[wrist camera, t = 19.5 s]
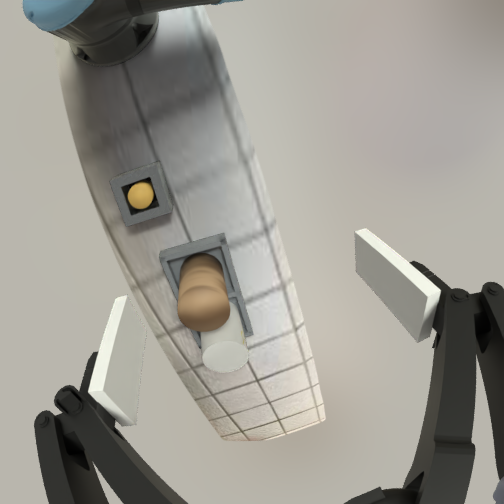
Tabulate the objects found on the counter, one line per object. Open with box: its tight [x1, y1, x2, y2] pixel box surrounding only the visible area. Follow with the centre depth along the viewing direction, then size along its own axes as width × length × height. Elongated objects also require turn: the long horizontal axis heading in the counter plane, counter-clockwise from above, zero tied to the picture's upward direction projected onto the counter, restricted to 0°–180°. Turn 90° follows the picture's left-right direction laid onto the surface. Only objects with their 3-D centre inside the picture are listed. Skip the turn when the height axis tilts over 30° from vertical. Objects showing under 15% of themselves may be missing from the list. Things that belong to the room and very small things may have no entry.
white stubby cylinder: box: [201, 302, 249, 373], centre depth 53 cm, size 8×8×12 cm
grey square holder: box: [110, 161, 173, 227], centre depth 44 cm, size 8×8×4 cm
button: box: [128, 180, 155, 209], centre depth 43 cm, size 4×4×3 cm
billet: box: [178, 253, 230, 332], centre depth 48 cm, size 8×8×12 cm
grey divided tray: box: [159, 233, 254, 349], centre depth 55 cm, size 23×12×3 cm, turn 12°
